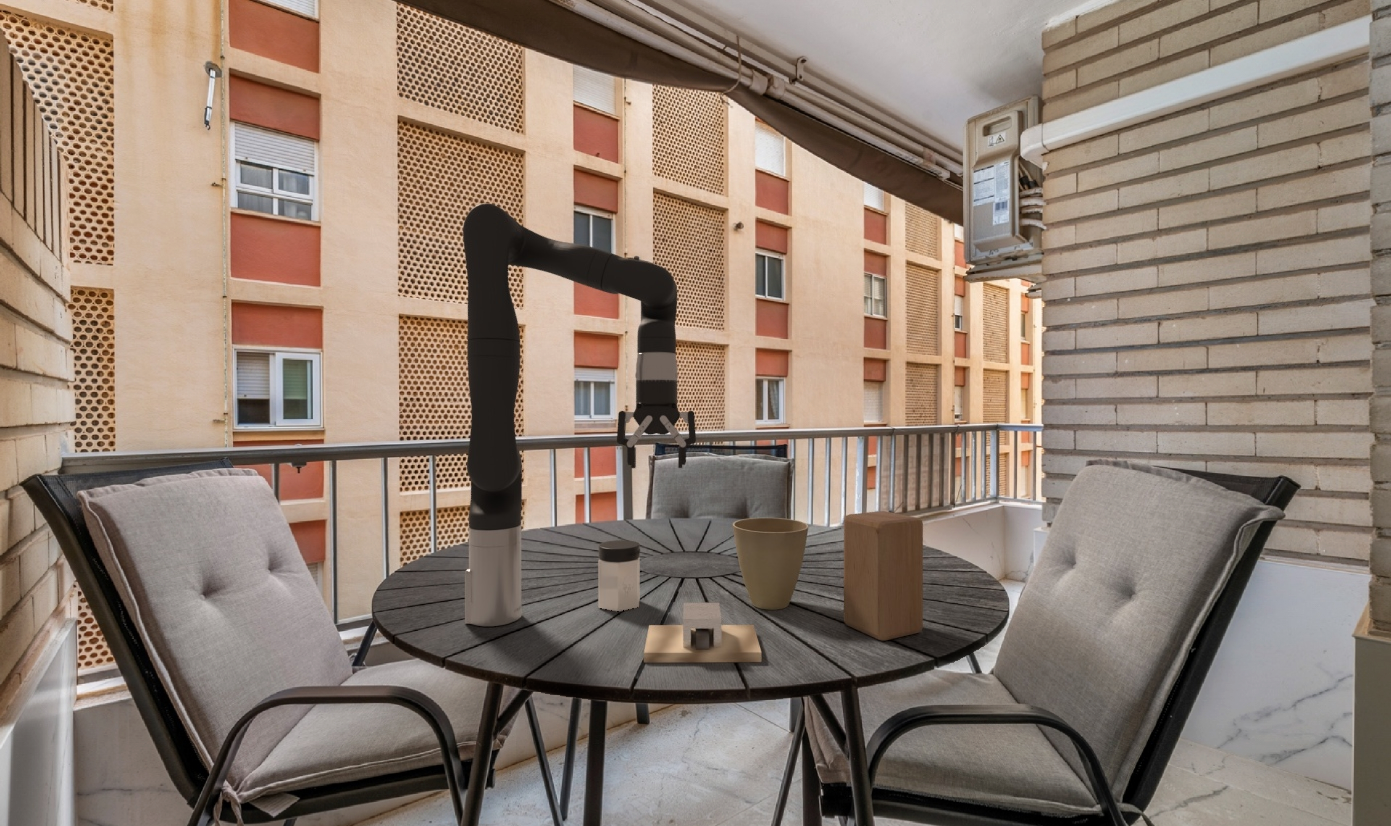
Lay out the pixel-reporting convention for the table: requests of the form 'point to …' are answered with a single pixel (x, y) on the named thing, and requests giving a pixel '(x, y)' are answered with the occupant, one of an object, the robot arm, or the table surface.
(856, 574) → the wooden block
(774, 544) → the plant pot
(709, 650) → the stand
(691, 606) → the notched grey block
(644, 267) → the robot arm
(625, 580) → the jar
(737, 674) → the table surface
